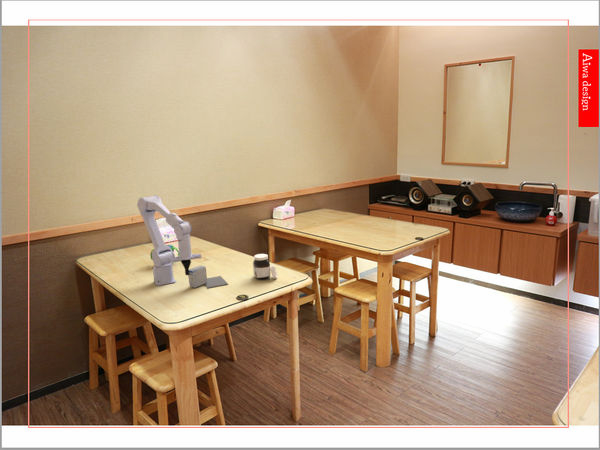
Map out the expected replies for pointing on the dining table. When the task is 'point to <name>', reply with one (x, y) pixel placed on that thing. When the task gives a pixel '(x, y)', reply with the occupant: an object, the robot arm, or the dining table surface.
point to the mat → (215, 282)
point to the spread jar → (263, 267)
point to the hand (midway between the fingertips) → (187, 274)
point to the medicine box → (197, 276)
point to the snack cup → (171, 249)
